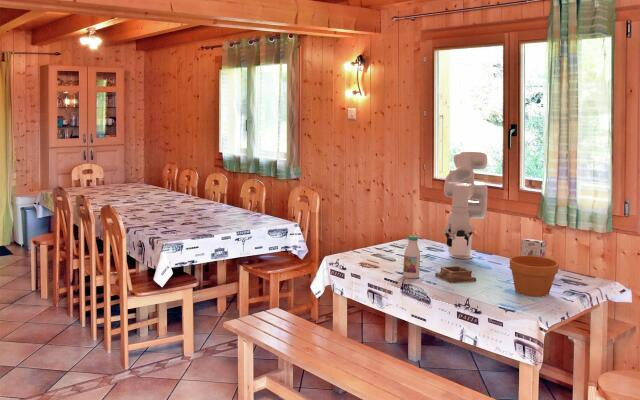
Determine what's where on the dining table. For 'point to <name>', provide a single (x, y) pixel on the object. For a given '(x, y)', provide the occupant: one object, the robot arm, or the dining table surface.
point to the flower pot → (533, 274)
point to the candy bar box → (533, 247)
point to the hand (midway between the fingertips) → (457, 245)
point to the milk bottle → (411, 258)
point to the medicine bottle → (458, 244)
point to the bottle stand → (455, 274)
